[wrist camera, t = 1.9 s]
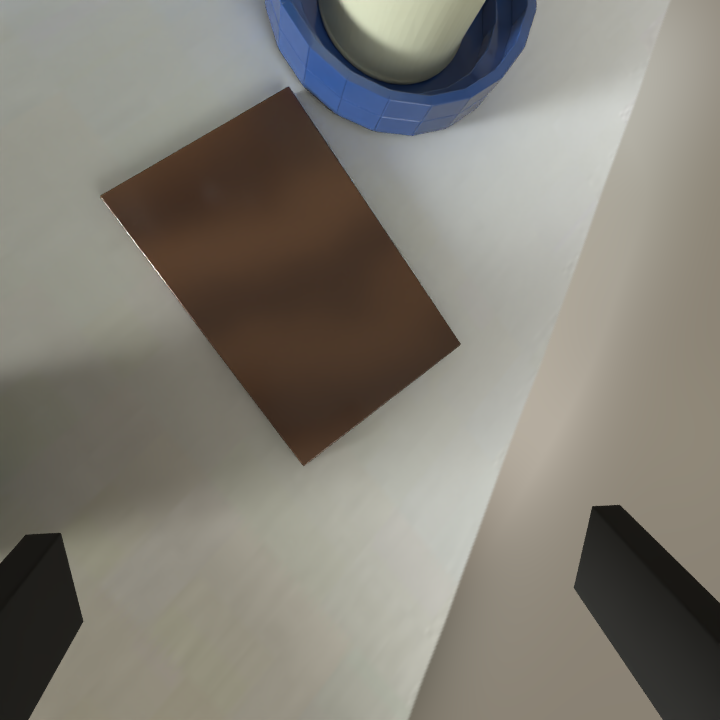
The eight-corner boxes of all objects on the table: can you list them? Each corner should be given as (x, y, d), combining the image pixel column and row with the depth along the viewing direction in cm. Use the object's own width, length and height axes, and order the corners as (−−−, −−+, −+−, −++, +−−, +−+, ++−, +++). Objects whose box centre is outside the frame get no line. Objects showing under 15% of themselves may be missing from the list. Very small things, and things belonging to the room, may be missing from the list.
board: (104, 201, 24) (98, 195, 23) (287, 93, 26) (288, 85, 25) (302, 463, 26) (303, 466, 25) (456, 344, 28) (461, 344, 27)
